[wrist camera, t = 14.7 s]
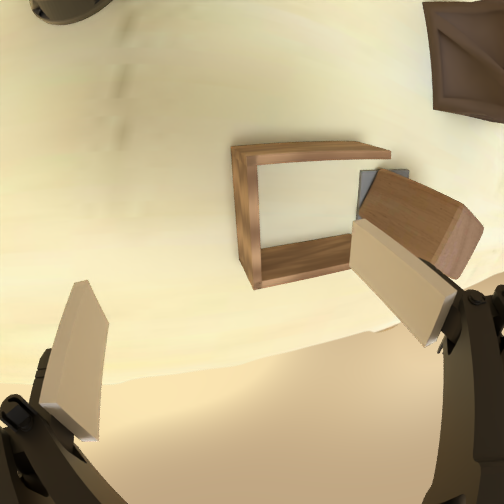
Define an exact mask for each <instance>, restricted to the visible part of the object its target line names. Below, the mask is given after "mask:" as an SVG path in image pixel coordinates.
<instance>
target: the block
mask: <svg viewBox="0 0 504 504" xmlns="http://www.w3.org/2000/svg"><path fill="white" fill-rule="evenodd" d="M358 214H359V215H360V217H361V218H362V219H366V220H368V221H369V222H370V223H372V224H373V225H375V226H376V227H377V228H379V229H380V230H382V231H383V232H384V233H386V234H387V235H388V236H390V237H391V238H392V239H394V240H395V241H396V242H398V243H399V244H400V245H402V246H403V247H404V248H406V249H407V250H408V251H409V252H411V253H412V254H413V255H415V256H416V257H417V258H419V257H420V258H422V259H424V260H426V261H428V262H430V263H431V264H433V265H434V266H435V267H436V268H437V269H439V270H440V271H441V272H442V273H443V274H445V275H446V276H448V277H450V278H452V279H458V278H459V277H460V275H461V274H462V272H463V270H464V268H465V267H466V265H467V263H468V261H469V259H470V257H471V255H472V254H473V252H474V250H475V248H476V246H477V244H478V242H479V240H480V238H481V236H482V234H483V230H484V227H483V225H482V224H481V223H480V222H479V221H478V219H477V218H476V217H475V216H474V215H473V214H472V213H471V212H470V210H469V209H468V208H467V207H466V206H465V205H464V204H462V203H460V202H459V201H457V200H454V199H452V198H450V197H448V196H446V195H444V194H442V193H440V192H438V191H436V190H434V189H431V188H429V187H427V186H425V185H422V184H420V183H418V182H416V181H413V180H411V179H409V178H406V177H404V176H401V175H399V174H396V173H394V172H391V171H389V170H386V169H380V170H379V171H378V173H377V175H376V177H375V179H374V181H373V183H372V185H371V187H370V189H369V191H368V193H367V195H366V197H365V200H364V202H363V204H362V206H361V207H360V209H359V213H358Z"/></svg>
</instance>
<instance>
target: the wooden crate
mask: <svg viewBox="0 0 504 504" xmlns="http://www.w3.org/2000/svg"><path fill="white" fill-rule="evenodd" d="M422 4H423V9H424V14H425V20H426V26H427V33H428V40H429V48H430V58H431V69H432V86H433V110H439V111H445V112H450V113H455V114H460V115H465V116H470V117H474V118H478V119H482V120H486V121H491V122H497V123H503V124H504V0H480V1H475V2H422Z"/></svg>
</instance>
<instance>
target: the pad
mask: <svg viewBox="0 0 504 504" xmlns="http://www.w3.org/2000/svg"><path fill="white" fill-rule="evenodd" d="M378 171H379V170H363V171H360V178H359V192H358V204H357V214H356V220H360V219H362V218H361V217H360V215H359V214H358V213H359V209H360V207H361V206H362V204H363V202H364V200H365V197H366V195H367V193H368V191H369V189H370V187H371V185H372V183H373V181H374V179H375V177H376V175H377V173H378ZM389 171H391V172H394V173H396V174H399V175H401V176H404V177H406V178H408V177H409V170H407V169H402V170H389Z"/></svg>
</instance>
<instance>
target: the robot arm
mask: <svg viewBox="0 0 504 504" xmlns="http://www.w3.org/2000/svg"><path fill="white" fill-rule="evenodd" d="M29 1H30V5H31V8H32V11H33V12H34V14H35V15H36V16H37V17H39V18H40V19H42V20H43V21H45V22H47V23H50V24H54V25H64V24H70V23H74V22H77V21H80V20H83V19H85V18H87V17H89V16H91V15H93V14H95V13H96V12H98V11H99V10H101V9H102V8H104V7H105V6H106V5H107V4H108V3H110V2H111V1H112V0H29ZM349 267H350V268H351V269H352V270H353V271H354V272H355V273H356V274H357V275H358V276H359V277H360V278H361V279H362V280H363V281H364V282H365V283H366V284H367V285H368V286H369V287H370V288H371V289H372V291H373V292H374V293H375V294H376V295H377V296H378V297H379V298H380V299H381V300H382V301H383V302H384V303H385V304H386V305H387V307H388V308H389V309H390V310H391V311H392V312H393V313H394V314H395V315H396V316H397V317H398V319H399V320H400V321H401V322H402V323H403V324H404V325H405V326H406V327H407V329H408V330H409V331H410V332H411V333H412V334H413V335H414V336H415V338H416V339H417V340H418V341H419V342H420V343H421V344H422V346H423V347H424V348H425V347H427V346H428V345H430V344H432V343H434V342H435V341H436V340H437V338H438V336H439V334H440V332H441V331H442V332H443V333H444V334H445V336H444V338H443V340H442V342H441V344H440V346H439V348H438V352H437V353H440V351H441V349H442V348H443V355H444V389H443V409H442V422H441V433H440V442H439V449H438V456H437V463H436V469H435V474H434V479H433V483H432V485H431V487H430V489H429V490H428V492H427V493H426V495H425V498H424V500H423V502H422V504H504V336H503V335H502V333H501V332H502V330H503V328H504V285H498V286H497V287H496V289H495V292H494V294H493V295H489V296H484V295H483V294H482V293H480V292H479V291H476V290H466V291H464V290H463V289H461V288H460V287H459V286H458V285H457V284H456V283H454V282H453V281H452V280H451V279H450V278H448V277H447V276H446V275H445V274H443V273H442V272H441V271H440V270H439V269H437V268H436V267H435V266H434V265H433V264H431V263H430V262H428V261H426V260H424V259H422V258H420V257H419V258H417V257H416V256H415V255H413V254H412V253H411V252H409V251H408V250H407V249H406V248H404V247H403V246H402V245H400V244H399V243H398V242H396V241H395V240H394V239H392V238H391V237H390V236H388V235H387V234H386V233H384V232H383V231H382V230H380V229H379V228H377V227H376V226H375V225H373V224H372V223H370V222H369V221H368V220H366V219H360V220H355V221H353V226H352V239H351V251H350V261H349ZM108 328H109V322H108V320H107V318H106V316H105V314H104V312H103V311H102V309H101V307H100V305H99V302H98V300H97V298H96V296H95V294H94V292H93V290H92V288H91V286H90V283H89V281H88V280H85V281H81V282H76V283H74V285H73V288H72V290H71V293H70V296H69V298H68V301H67V304H66V307H65V309H64V312H63V315H62V318H61V321H60V324H59V327H58V330H57V333H56V337H55V340H54V343H53V347H52V348H50V349H46V350H45V352H44V353H43V355H42V357H41V358H40V361H39V364H38V368H37V369H38V371H36V375H35V378H36V379H34V383H33V387H32V391H31V396H30V400H29V404H28V403H27V402H26V401H25V400H24V399H23V398H22V397H21V396H20V395H18V394H14V395H10V396H8V397H7V398H6V399H5V400H4V401H3V402H2V404H1V407H0V420H1V421H2V422H3V423H5V424H6V425H7V426H8V427H5V428H2V427H1V426H0V504H128V503H127V502H126V501H125V500H124V499H123V498H122V497H121V496H120V495H119V494H118V493H117V492H116V491H115V490H114V489H113V488H112V487H111V486H110V485H109V484H108V483H107V482H106V480H105V479H104V478H103V477H102V476H101V475H100V474H99V472H98V471H97V470H96V469H95V468H94V466H93V465H92V464H91V463H90V462H89V460H88V459H87V458H86V457H85V456H84V454H83V453H82V452H81V450H80V449H79V447H78V446H77V445H76V444H75V443H74V435H75V436H76V437H77V438H78V439H80V440H81V441H99V416H100V399H101V386H102V375H103V365H104V356H105V349H106V341H107V334H108ZM17 471H18V472H17ZM18 475H19V476H18Z"/></svg>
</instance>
